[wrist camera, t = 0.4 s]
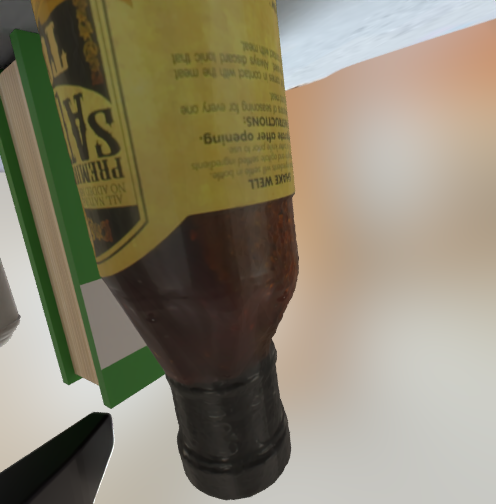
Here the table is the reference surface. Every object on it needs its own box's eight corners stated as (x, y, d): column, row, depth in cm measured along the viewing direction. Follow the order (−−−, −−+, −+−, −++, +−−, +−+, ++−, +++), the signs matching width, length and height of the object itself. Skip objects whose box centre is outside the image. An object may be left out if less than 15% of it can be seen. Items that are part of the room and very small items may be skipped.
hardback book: (-23, 71, 24) (63, 382, 29) (15, 28, 19) (111, 409, 24) (174, 95, 37) (210, 305, 42) (224, 74, 32) (259, 312, 37)
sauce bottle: (-143, -553, 5) (155, 608, 8) (292, -403, 6) (372, 508, 10) (20, -120, 11) (148, 434, 15) (215, -103, 12) (283, 390, 16)
